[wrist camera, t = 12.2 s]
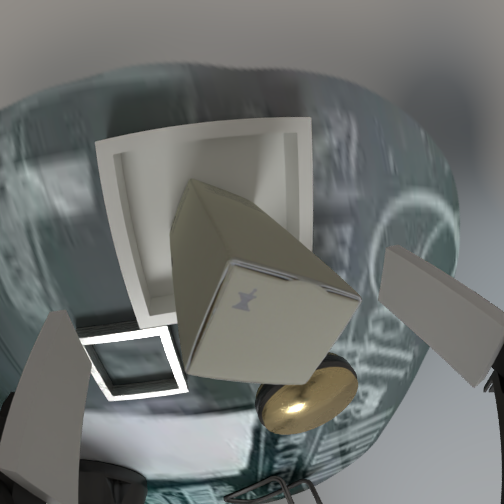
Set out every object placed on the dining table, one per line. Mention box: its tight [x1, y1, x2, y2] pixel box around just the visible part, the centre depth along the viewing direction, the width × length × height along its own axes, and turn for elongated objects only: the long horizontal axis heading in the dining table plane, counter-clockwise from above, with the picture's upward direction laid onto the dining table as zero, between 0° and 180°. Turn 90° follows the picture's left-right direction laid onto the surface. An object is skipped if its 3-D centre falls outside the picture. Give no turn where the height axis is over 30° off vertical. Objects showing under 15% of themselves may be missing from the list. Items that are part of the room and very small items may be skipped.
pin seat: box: [76, 320, 189, 401], centre depth 23 cm, size 8×8×2 cm
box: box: [169, 179, 362, 385], centre depth 14 cm, size 5×4×13 cm
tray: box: [95, 117, 313, 329], centre depth 19 cm, size 13×13×3 cm
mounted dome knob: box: [255, 352, 358, 434], centre depth 21 cm, size 7×7×10 cm
